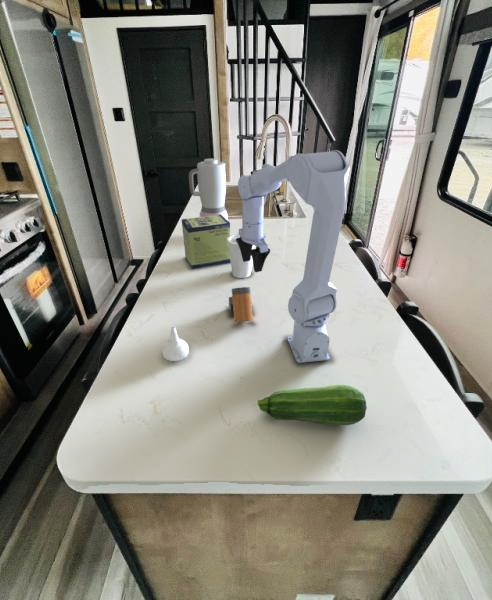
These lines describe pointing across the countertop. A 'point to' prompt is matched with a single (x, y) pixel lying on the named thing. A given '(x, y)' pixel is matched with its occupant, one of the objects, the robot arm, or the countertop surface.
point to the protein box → (206, 240)
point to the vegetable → (317, 405)
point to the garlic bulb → (175, 347)
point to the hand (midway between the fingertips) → (252, 265)
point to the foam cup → (238, 258)
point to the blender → (210, 187)
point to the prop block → (231, 306)
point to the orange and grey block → (242, 304)
